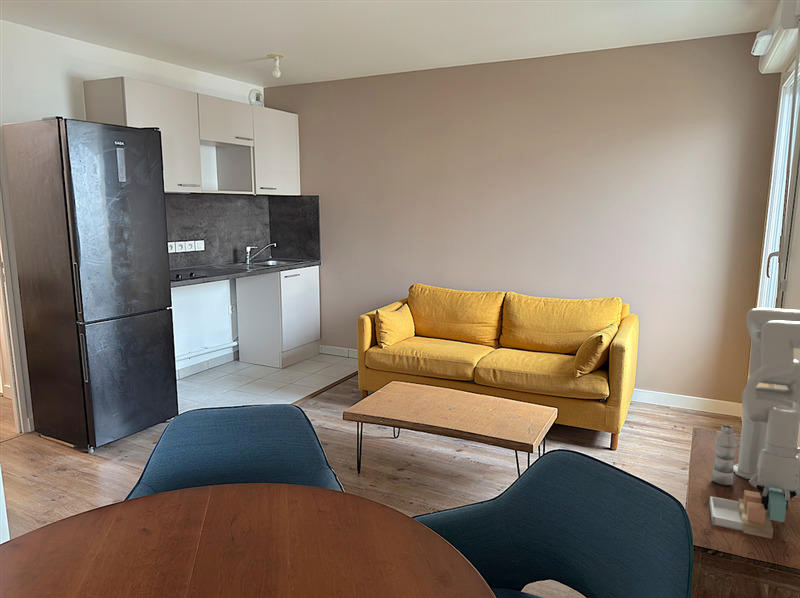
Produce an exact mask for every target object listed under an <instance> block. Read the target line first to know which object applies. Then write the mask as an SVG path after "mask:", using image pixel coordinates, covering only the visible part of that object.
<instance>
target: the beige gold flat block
mask: <svg viewBox="0 0 800 598" xmlns="http://www.w3.org/2000/svg"><path fill="white" fill-rule="evenodd" d="M737 499H738V500H737V501H739V506H738V510H739V514H740V519H741V521H742V522H744V526H743V531H742V532H743V534H748V535H752V536H753V535H754V536H757V537H763V538H767V539H773V537H774V536H773V535H774V526H773V523H772V520H770V519H769V516H768V513H767V510H765V519H764V524H763V523H758V522H753V521H748V520H747V516H746V509H747V508H744V504H743V498H742V499H741V498H737Z"/></svg>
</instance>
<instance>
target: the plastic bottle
mask: <svg viewBox="0 0 800 598" xmlns="http://www.w3.org/2000/svg"><path fill="white" fill-rule="evenodd" d="M734 434H735V427H733V426H732V425H727V424H722V425H721V426H720V433H719V434H718V435H717V436H716V437H715V440H714V441H715V442H714V443H715V446H714V447H715V457H714V458H715V459H714V464H713V467H712V470H711V479H712V481H713V482H714V483H716V484H718V485H722V486H730V485H732V484H733V483H734V479H735V473H734V472H733V466H734V462H735V454H736V452H737V448H738V444H739V443H738V440H737V439H736V437H735V436H734Z"/></svg>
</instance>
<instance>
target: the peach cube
mask: <svg viewBox="0 0 800 598" xmlns="http://www.w3.org/2000/svg"><path fill="white" fill-rule="evenodd" d="M746 516H747V520H748V521H753V522H758V523H763V524H764V519H765V508H764V505H763V504H759V503H754V502H749V501H747V509H746Z"/></svg>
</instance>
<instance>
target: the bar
mask: <svg viewBox="0 0 800 598" xmlns="http://www.w3.org/2000/svg"><path fill="white" fill-rule="evenodd" d="M768 497H769V501H768V509H767V513H768V516H769V519H770V520H771V521H775V522H780V523H785V521H786V520H785V518H786V511H787V510H786V503H787V502H786V500H785V497H784V495H783V489H777V488H772V487H769V491H768Z"/></svg>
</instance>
